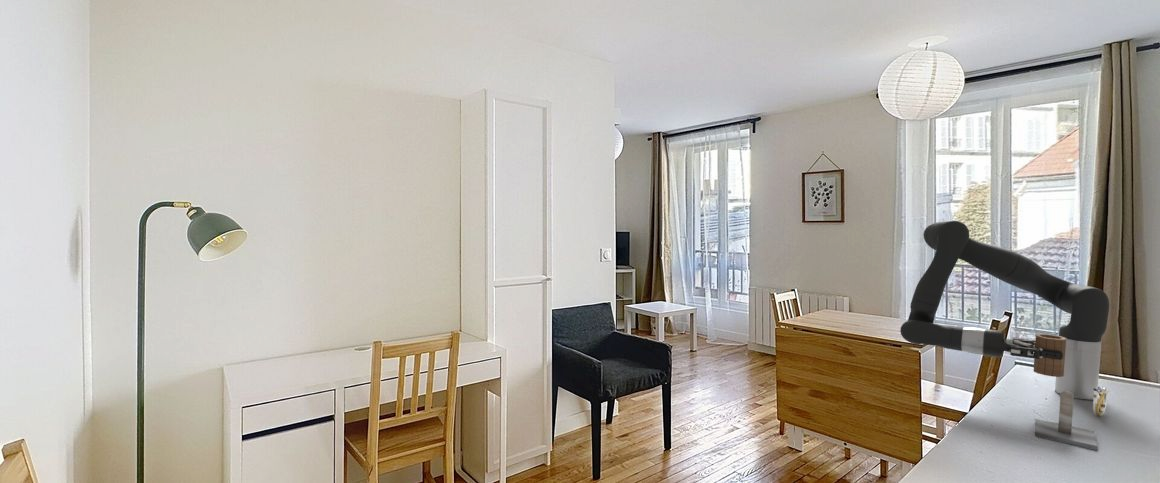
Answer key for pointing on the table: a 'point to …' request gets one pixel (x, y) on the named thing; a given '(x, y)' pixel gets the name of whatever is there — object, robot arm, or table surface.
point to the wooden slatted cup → (1048, 364)
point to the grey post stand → (1066, 426)
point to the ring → (1100, 400)
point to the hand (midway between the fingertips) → (1061, 352)
